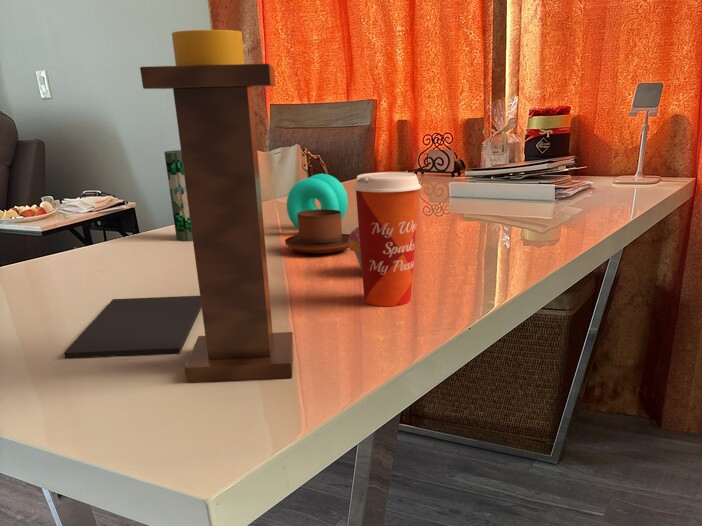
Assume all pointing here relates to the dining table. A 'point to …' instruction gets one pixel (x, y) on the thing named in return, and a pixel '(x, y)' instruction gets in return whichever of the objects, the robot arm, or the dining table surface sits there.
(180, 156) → the can
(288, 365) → the stand
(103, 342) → the mat
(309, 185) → the donuts
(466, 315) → the dining table surface
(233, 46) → the scoop
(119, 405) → the dining table surface
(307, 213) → the cup and saucer
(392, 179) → the coffee cup
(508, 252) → the dining table surface
